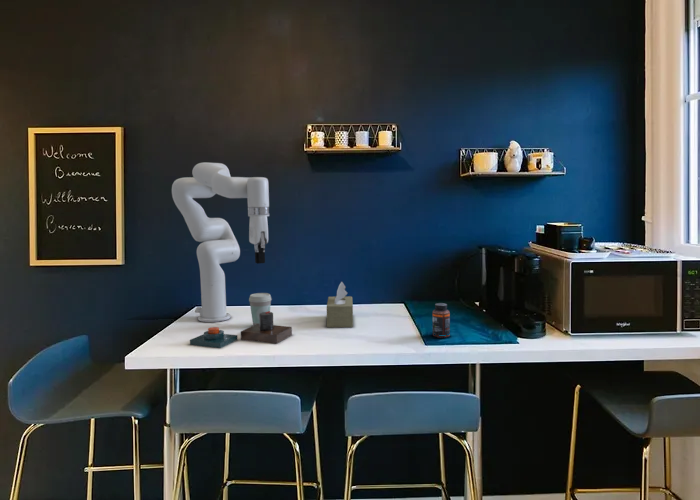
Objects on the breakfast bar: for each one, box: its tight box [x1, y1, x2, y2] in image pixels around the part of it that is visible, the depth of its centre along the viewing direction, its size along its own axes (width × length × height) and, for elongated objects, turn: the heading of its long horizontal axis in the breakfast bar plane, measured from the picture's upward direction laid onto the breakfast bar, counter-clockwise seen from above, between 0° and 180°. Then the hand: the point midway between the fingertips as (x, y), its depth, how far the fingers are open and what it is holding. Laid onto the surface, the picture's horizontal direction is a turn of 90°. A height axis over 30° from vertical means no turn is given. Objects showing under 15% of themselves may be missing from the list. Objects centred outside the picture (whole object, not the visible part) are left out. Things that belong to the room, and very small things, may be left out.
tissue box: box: [326, 281, 354, 328], centre depth 196 cm, size 19×10×16 cm, turn 0°
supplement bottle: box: [432, 302, 451, 339], centre depth 175 cm, size 6×6×11 cm
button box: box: [189, 329, 238, 349], centre depth 170 cm, size 12×10×4 cm
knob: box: [259, 310, 274, 331], centre depth 175 cm, size 5×5×6 cm
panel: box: [240, 324, 293, 344], centre depth 176 cm, size 14×11×3 cm
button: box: [207, 326, 220, 334], centre depth 170 cm, size 4×4×2 cm
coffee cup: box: [248, 292, 273, 326], centre depth 191 cm, size 8×8×12 cm
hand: (260, 262), depth 182 cm, fingers closed
